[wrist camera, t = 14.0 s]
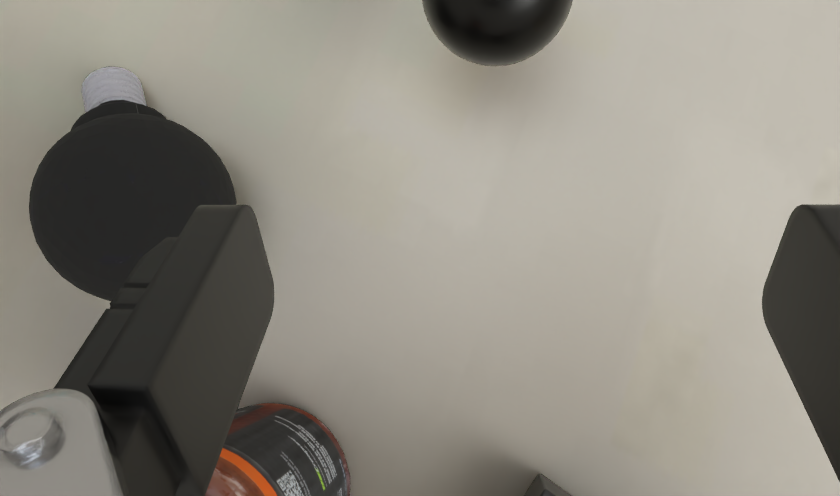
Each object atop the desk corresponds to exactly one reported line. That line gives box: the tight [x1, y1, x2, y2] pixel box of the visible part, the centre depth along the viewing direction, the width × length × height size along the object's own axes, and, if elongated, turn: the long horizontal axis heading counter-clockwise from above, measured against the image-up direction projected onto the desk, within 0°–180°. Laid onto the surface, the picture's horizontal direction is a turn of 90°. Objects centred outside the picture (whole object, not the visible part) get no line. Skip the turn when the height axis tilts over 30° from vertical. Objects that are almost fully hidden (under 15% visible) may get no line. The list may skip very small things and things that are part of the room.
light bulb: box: [29, 66, 236, 301], centre depth 23 cm, size 6×6×10 cm
